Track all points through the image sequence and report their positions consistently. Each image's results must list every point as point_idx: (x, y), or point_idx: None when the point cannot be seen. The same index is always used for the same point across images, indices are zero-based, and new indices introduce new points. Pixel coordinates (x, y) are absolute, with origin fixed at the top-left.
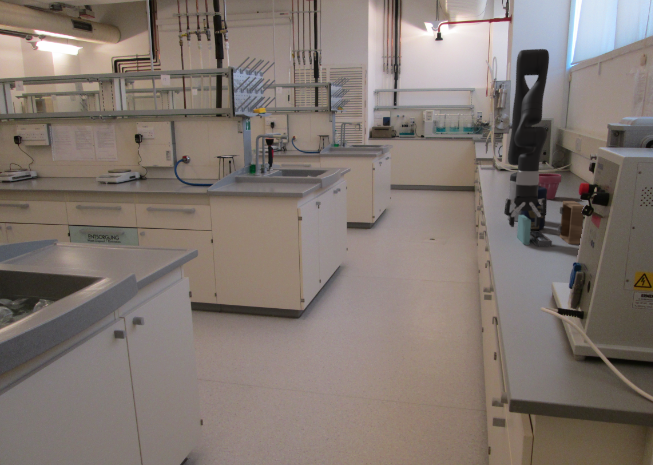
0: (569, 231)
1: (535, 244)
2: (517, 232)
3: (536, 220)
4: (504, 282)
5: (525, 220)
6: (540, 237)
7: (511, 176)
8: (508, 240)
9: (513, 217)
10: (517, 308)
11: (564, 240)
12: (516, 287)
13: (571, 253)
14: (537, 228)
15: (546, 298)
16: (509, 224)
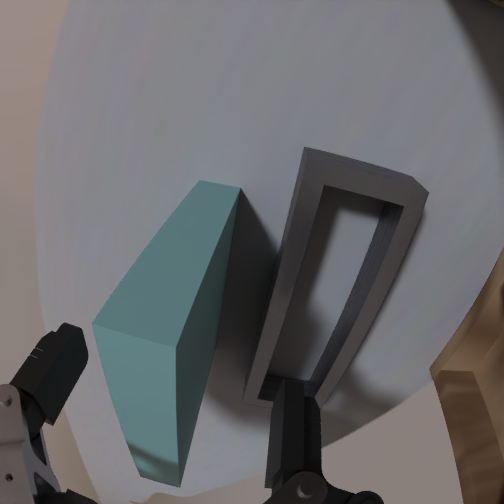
0: (453, 416)
1: (252, 355)
2: (184, 202)
3: (269, 456)
4: (93, 469)
5: (139, 472)
6: (367, 265)
7: None
8: (116, 243)
9: (44, 421)
10: (109, 492)
11: (466, 317)
12: (110, 480)
13: (324, 446)
14: (499, 5)
15: (143, 499)
16: (50, 333)
